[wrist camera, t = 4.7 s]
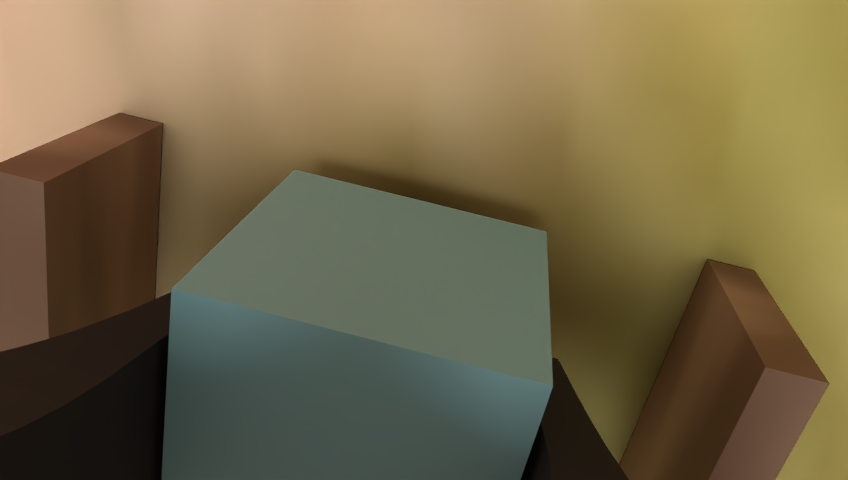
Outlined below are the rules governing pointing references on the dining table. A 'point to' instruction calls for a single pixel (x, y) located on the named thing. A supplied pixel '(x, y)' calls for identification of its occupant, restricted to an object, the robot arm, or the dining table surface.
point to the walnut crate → (135, 285)
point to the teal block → (359, 342)
